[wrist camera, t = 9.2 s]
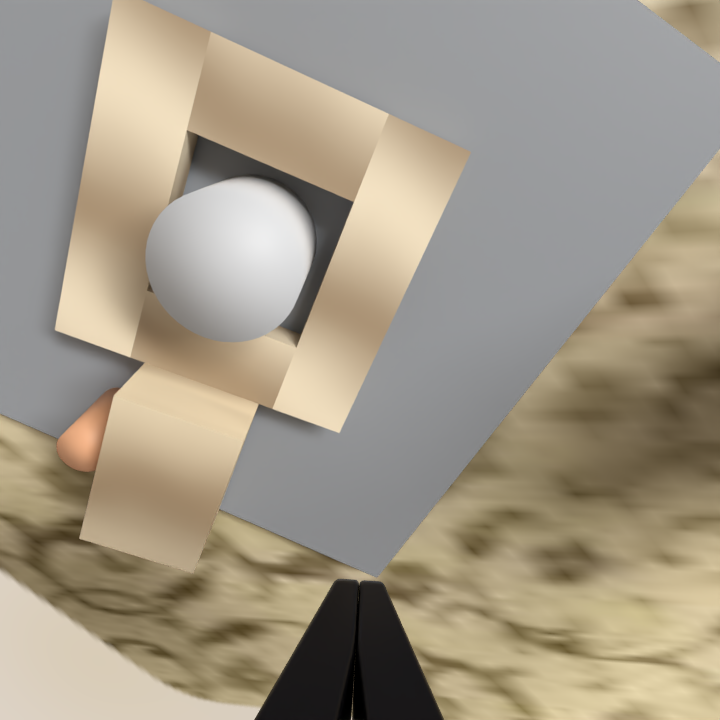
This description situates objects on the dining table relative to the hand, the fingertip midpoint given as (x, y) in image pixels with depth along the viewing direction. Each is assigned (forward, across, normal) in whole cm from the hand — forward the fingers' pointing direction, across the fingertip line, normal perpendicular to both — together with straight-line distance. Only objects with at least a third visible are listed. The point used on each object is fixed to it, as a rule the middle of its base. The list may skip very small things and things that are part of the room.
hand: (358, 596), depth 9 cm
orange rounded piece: (+10, +9, +3) cm, 14 cm away
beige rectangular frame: (+10, +5, -1) cm, 11 cm away
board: (+12, +4, -4) cm, 13 cm away
